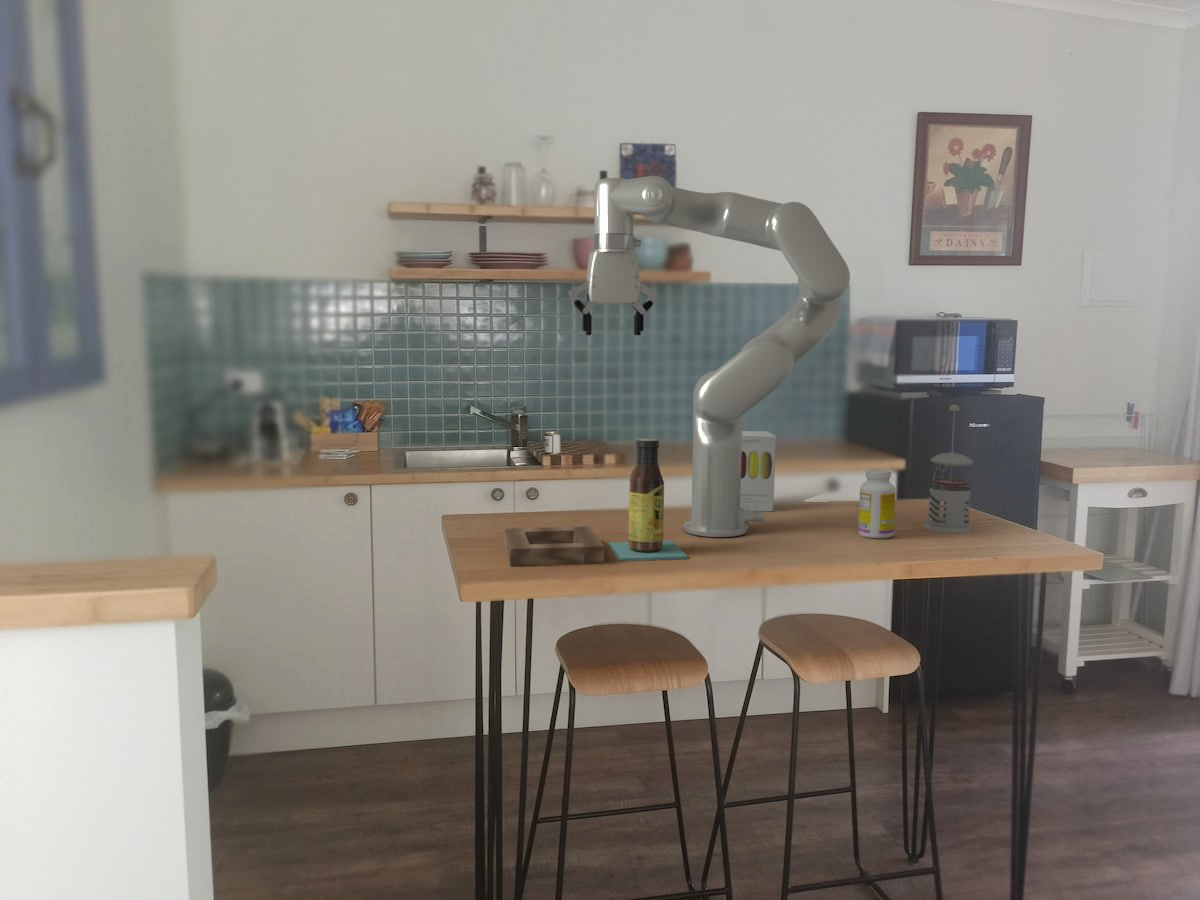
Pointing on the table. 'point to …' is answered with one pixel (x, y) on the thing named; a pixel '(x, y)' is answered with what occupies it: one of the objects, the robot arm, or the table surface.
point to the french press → (949, 494)
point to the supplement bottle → (877, 505)
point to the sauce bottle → (646, 499)
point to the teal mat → (665, 553)
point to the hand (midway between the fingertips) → (612, 335)
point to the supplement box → (757, 471)
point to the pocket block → (553, 546)
